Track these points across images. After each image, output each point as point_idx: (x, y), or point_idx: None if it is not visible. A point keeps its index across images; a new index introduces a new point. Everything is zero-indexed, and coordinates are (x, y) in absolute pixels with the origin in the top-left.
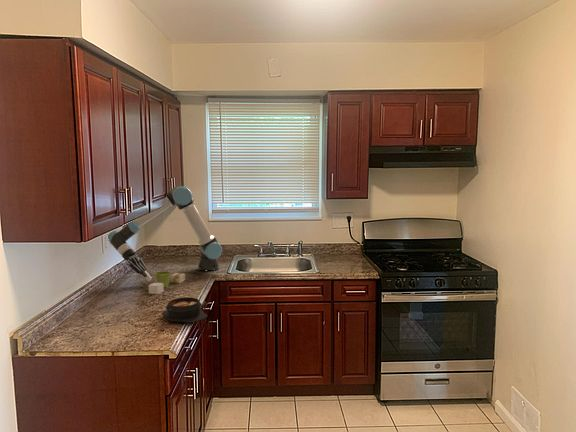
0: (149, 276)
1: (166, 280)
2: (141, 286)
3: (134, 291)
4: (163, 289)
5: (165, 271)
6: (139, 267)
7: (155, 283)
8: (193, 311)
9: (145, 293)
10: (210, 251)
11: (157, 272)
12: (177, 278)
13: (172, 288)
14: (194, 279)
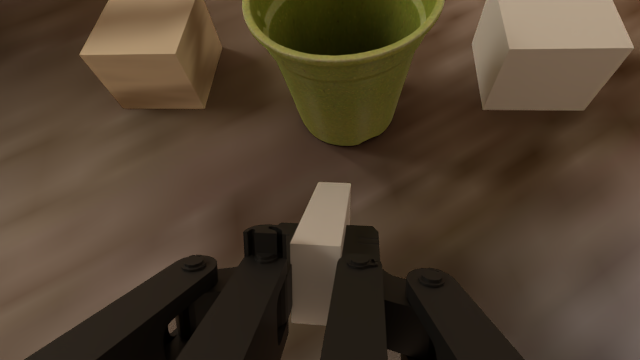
0: (338, 195)
1: (369, 15)
2: None
3: (617, 282)
4: (478, 30)
5: (249, 3)
6: (381, 334)
7: (537, 25)
8: None
9: (605, 134)
10: None
11: (315, 56)
12: (202, 31)
13: None
14: None
